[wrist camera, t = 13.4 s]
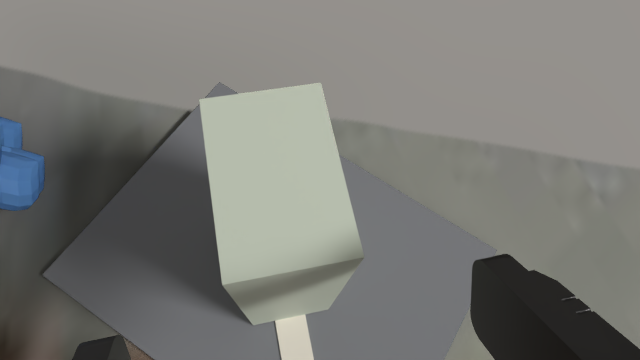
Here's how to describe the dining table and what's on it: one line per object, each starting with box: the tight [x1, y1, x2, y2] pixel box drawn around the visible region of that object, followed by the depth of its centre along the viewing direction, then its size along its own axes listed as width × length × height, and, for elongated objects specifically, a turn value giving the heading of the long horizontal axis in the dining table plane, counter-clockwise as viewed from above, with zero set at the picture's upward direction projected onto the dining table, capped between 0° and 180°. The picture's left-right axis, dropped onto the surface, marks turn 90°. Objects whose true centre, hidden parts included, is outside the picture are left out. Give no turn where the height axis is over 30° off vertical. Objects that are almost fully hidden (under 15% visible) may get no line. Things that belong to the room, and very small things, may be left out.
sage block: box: [199, 83, 364, 325], centre depth 19 cm, size 4×6×12 cm, turn 12°
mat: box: [42, 82, 497, 360], centre depth 25 cm, size 20×15×1 cm
